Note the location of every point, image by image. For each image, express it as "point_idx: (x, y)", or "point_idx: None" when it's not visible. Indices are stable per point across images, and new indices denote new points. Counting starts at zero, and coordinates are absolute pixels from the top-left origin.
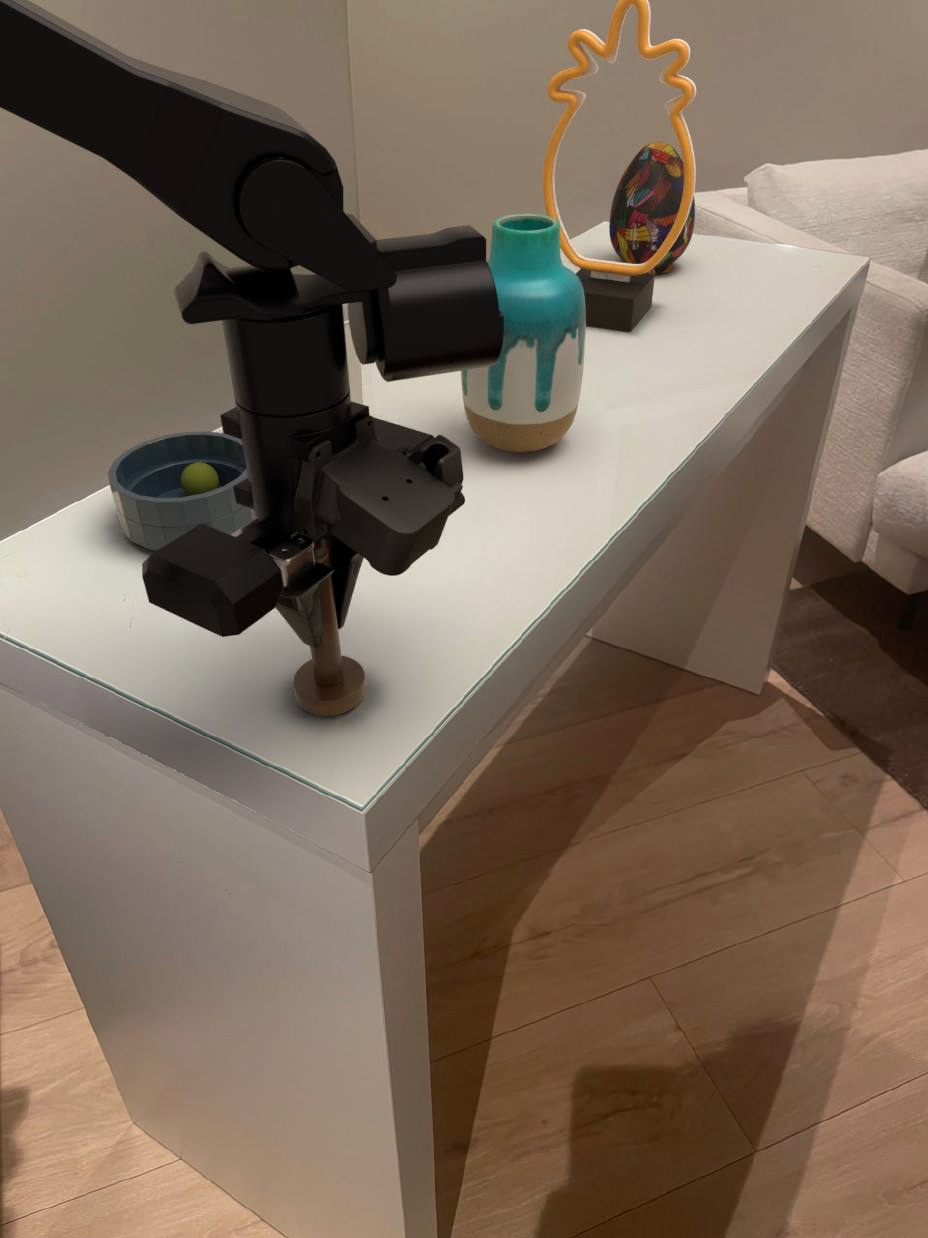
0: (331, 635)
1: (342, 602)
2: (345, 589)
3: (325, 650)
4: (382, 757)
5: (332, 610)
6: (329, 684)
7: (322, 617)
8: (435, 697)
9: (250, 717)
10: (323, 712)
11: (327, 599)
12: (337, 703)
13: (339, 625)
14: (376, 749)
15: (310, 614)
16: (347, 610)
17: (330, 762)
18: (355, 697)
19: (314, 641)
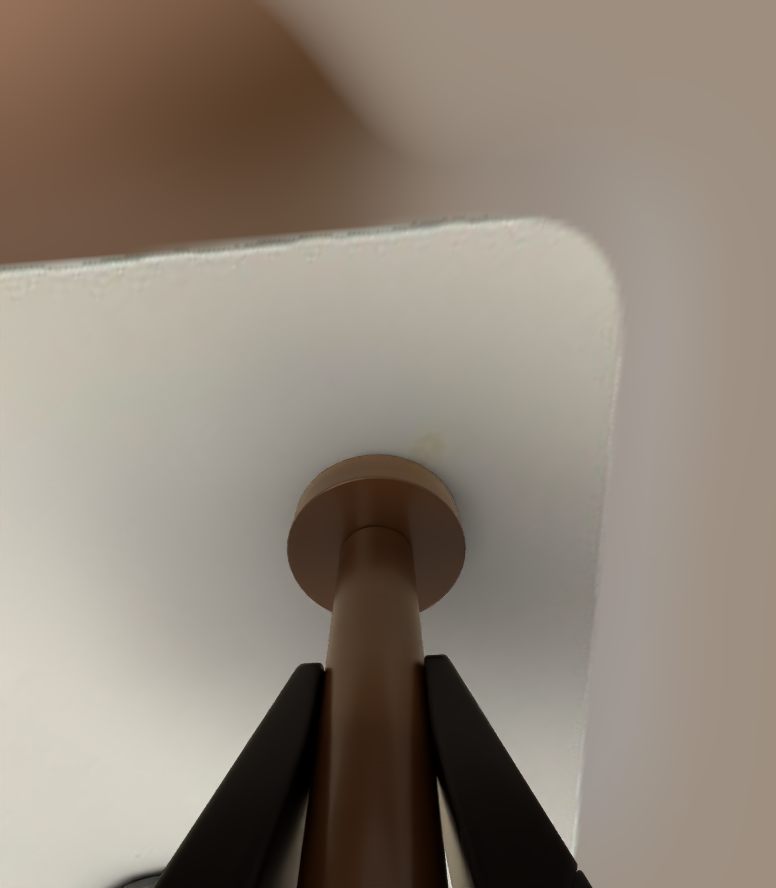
0: (385, 665)
1: (288, 784)
2: (254, 873)
3: (409, 627)
4: (466, 287)
5: (364, 782)
6: (402, 538)
7: (416, 773)
8: (206, 323)
9: (524, 591)
10: (448, 494)
11: (384, 880)
12: (426, 484)
13: (320, 677)
14: (452, 320)
15: (562, 879)
16: (270, 720)
17: (548, 380)
18: (377, 467)
19: (466, 686)
